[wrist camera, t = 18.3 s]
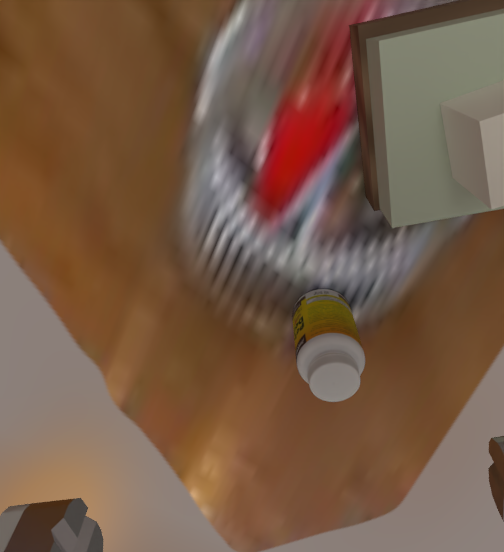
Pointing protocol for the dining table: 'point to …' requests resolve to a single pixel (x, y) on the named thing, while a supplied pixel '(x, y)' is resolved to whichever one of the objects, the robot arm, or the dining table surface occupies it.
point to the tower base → (469, 4)
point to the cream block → (477, 142)
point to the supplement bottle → (327, 345)
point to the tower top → (427, 111)
